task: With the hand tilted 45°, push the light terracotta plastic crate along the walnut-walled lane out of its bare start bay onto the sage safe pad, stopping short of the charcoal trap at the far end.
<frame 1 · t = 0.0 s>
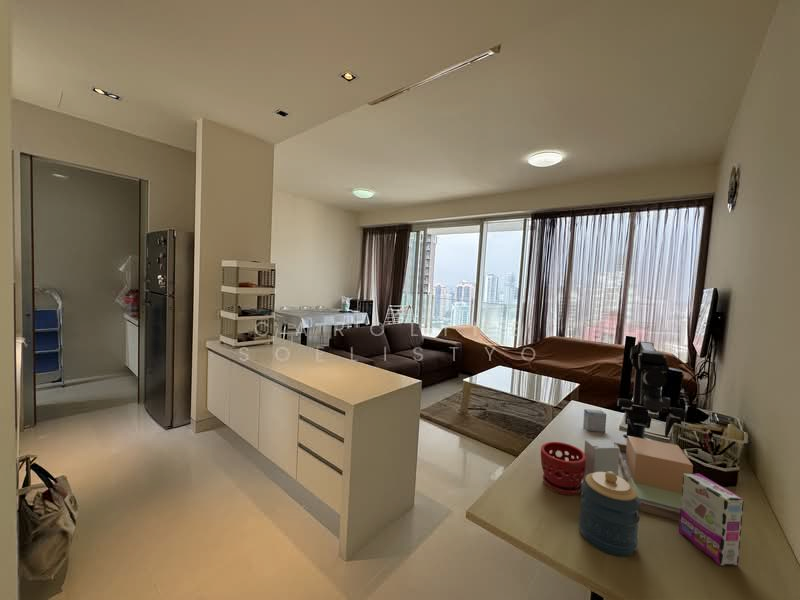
hand: (649, 433, 114), 15 cm above the table, tool pointing down, fingers open, 9 cm apart
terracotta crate: (655, 477, 115), resting in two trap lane
plant pot: (560, 487, 108), on the table
canister: (606, 538, 86), on the table
medicine box: (593, 430, 153), on the table
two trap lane: (657, 482, 112), on the table
skincare box: (599, 487, 108), on the table
candy bar box: (706, 548, 84), on the table
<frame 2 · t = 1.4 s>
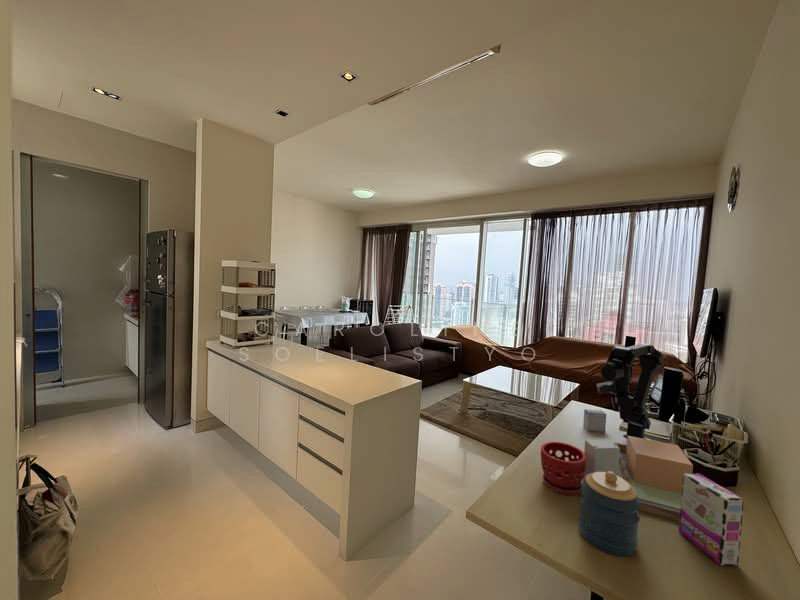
hand: (618, 415, 136), 13 cm above the table, tool pointing down, fingers open, 9 cm apart
nothing on the table moved.
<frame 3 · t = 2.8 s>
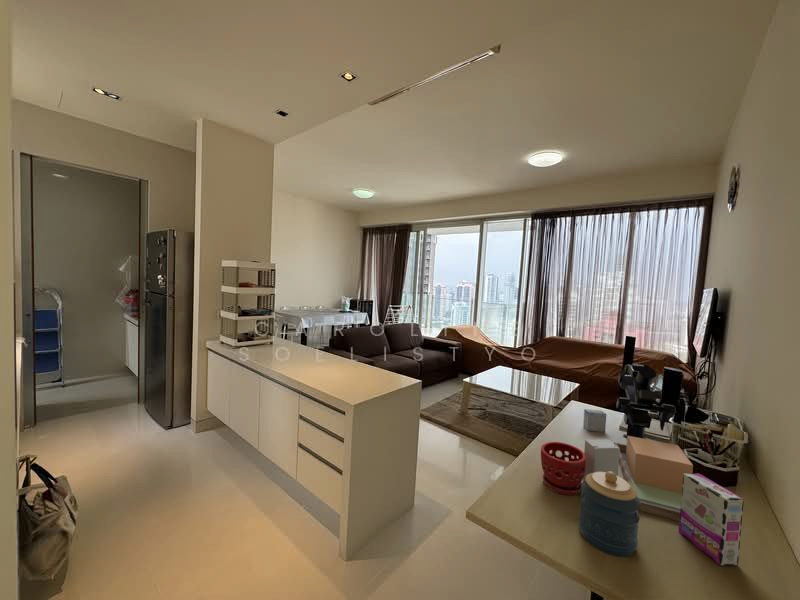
hand: (647, 427, 128), 12 cm above the table, tool tilted 45°, fingers open, 9 cm apart
nothing on the table moved.
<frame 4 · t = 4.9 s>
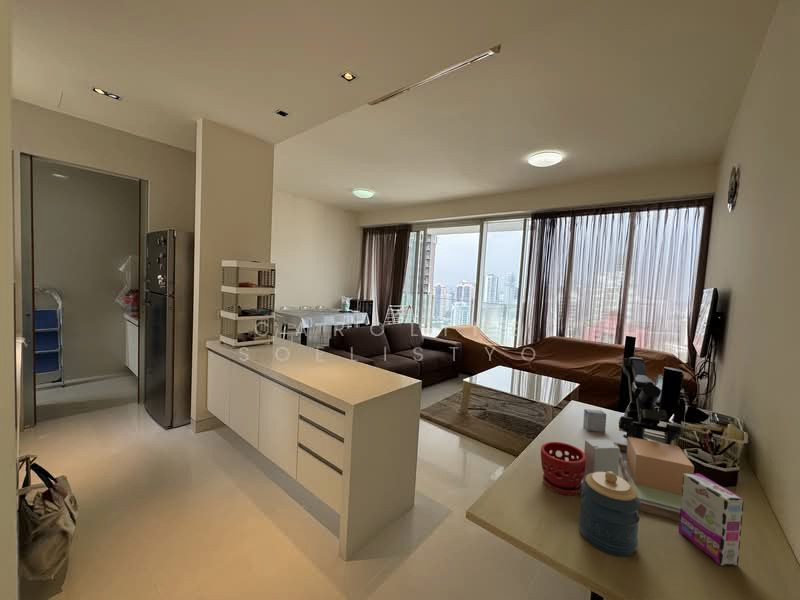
hand: (651, 449, 121), 7 cm above the table, tool tilted 45°
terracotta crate: (655, 478, 114), resting in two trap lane, touching gripper
everything else where it was.
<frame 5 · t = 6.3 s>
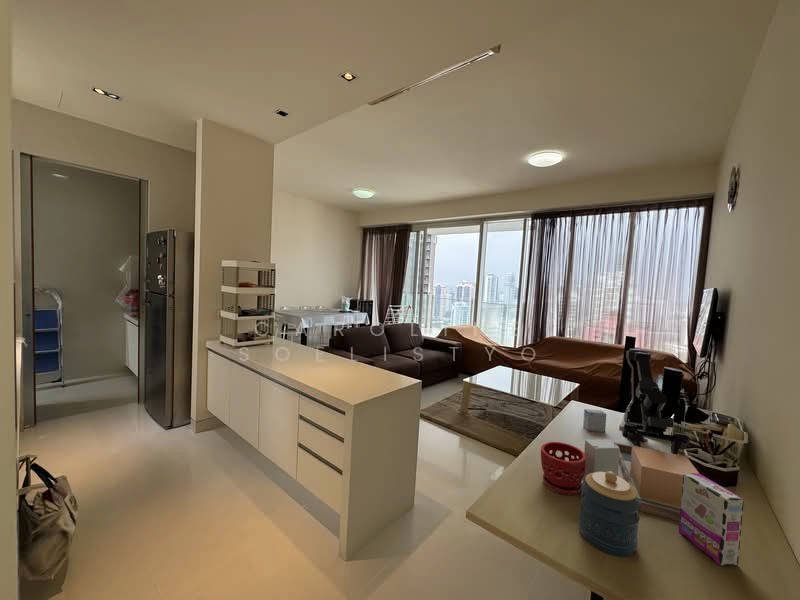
hand: (657, 459, 114), 7 cm above the table, tool tilted 45°
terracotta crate: (662, 491, 107), resting in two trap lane, touching gripper
everything else where it was.
when the fingers open (7 cm above the table, at t = 7.7 s): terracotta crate stays where it is, resting on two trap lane.
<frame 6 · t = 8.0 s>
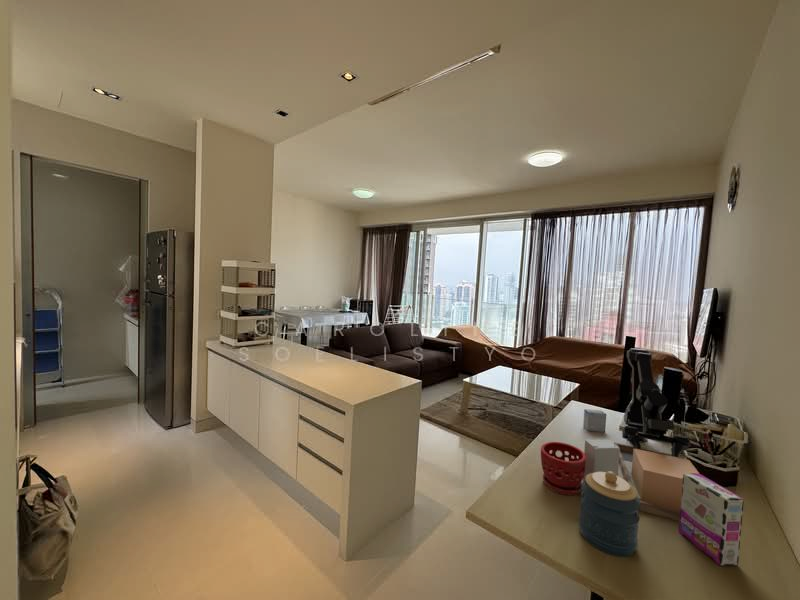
hand: (657, 462, 113), 6 cm above the table, tool tilted 45°, fingers open, 9 cm apart
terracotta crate: (664, 495, 105), resting on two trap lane
everything else where it was.
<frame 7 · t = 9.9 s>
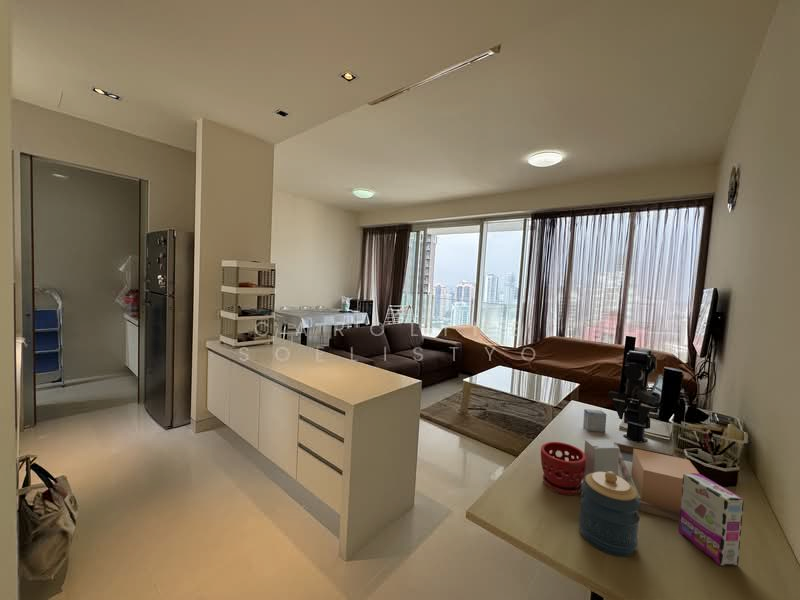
hand: (631, 421, 132), 12 cm above the table, tool tilted 15°, fingers open, 9 cm apart
nothing on the table moved.
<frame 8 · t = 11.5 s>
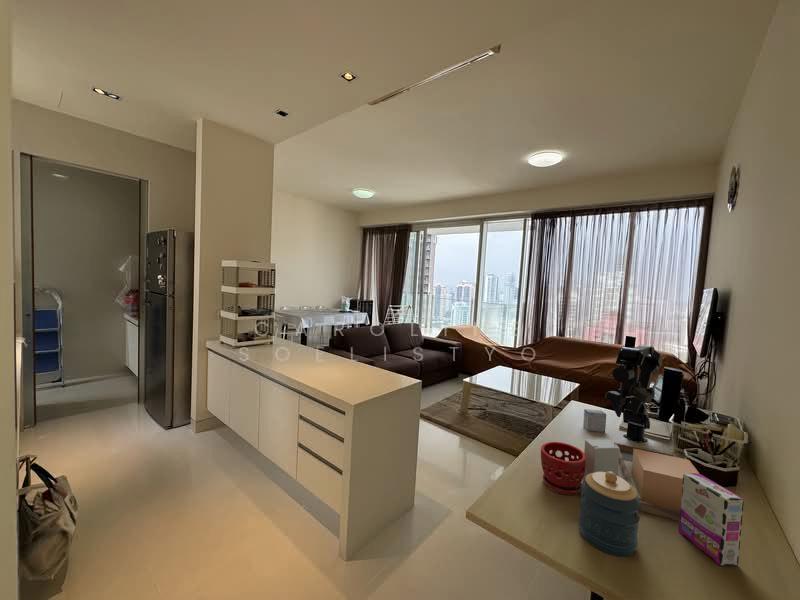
hand: (626, 415, 136), 13 cm above the table, tool pointing down, fingers open, 9 cm apart
nothing on the table moved.
at the end: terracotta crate 0.6 cm from the target spot, resting in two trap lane; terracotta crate tilted 0°; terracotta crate moved 11.2 cm from its start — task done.
